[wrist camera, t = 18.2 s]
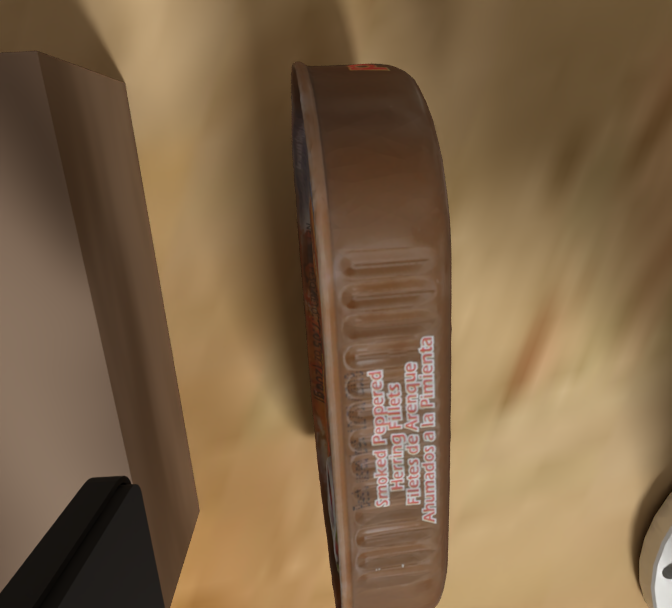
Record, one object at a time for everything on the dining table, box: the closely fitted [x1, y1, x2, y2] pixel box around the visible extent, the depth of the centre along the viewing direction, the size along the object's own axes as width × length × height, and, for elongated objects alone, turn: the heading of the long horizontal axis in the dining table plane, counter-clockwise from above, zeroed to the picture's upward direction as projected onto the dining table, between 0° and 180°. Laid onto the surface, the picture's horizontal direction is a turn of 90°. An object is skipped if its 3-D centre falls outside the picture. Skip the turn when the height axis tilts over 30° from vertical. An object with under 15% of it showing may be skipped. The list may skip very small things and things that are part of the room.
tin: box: [291, 62, 452, 608], centre depth 13 cm, size 15×3×8 cm, turn 3°
